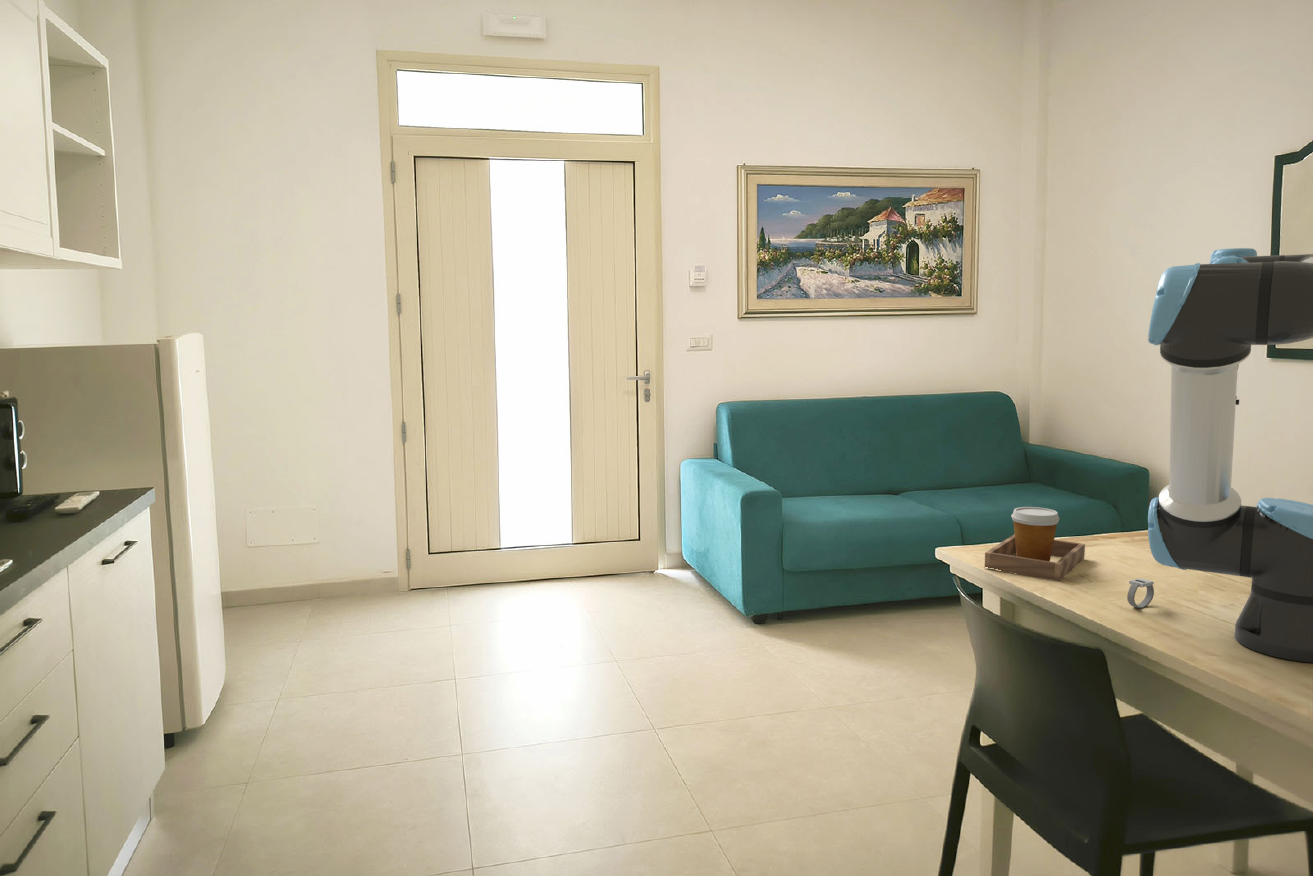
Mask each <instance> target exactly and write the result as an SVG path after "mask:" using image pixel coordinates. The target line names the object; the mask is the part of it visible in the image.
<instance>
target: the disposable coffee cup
mask: <svg viewBox="0 0 1313 876" xmlns="http://www.w3.org/2000/svg"><path fill="white" fill-rule="evenodd" d="M1011 518H1012V521H1013V531H1014V532H1013V533H1014V534H1015V544H1016V552H1015V553H1016V554H1015V556H1018V557H1024V558H1031V559H1037V560H1044V561H1050V562H1051V559H1052V556H1051V553H1052V548H1053V543H1054V540H1055V537H1056V532H1057V527H1058V526H1057V524H1059V521H1061V520H1060V519H1061V518H1060V517H1059V514H1058V511H1056V510H1055V509H1051V508H1046V507H1037V506H1036V507H1035V506H1022V507H1021V506H1020V507H1016V508H1014V509H1013V512H1012V514H1011Z"/></svg>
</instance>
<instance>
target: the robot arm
mask: <svg viewBox="0 0 1313 876" xmlns="http://www.w3.org/2000/svg"><path fill="white" fill-rule="evenodd" d="M1147 337H1148V338H1147V342H1148V343H1150V344H1151V345H1154V346H1159V354H1160V357H1161V359H1162V360H1164V361H1165V362H1166V363H1167V364H1169V365H1171V366H1170V368H1171V370H1170V373H1171V374H1170V375H1171V376H1170V381H1171V382H1170V417H1169V418H1170V419H1169V420H1170V426H1169V427H1170V428H1169V429H1170V432H1169V433H1170V434H1169V483H1168V484H1167V485H1166V486H1164V487H1163V488H1162V490H1160V492H1159V494H1158V497H1157V496H1156V497H1153V498H1152V499H1151V501H1150V502H1149V507H1148V514H1147V526H1148V529H1147V535H1148V542H1149V543H1148V544H1149V549H1150V552H1151V555H1152V557H1153V559H1154V560H1155V561H1156V562H1157V563H1158V564H1160V565H1162V566H1167V567H1169V568H1170V567H1171V568H1176V569H1179V570H1182V571H1187V570H1193V571H1200V572H1206V573H1212V574H1221V575H1222V574H1223V575H1228V576H1237V577H1242V578H1250V579H1251V585H1250V586H1251V588H1250V595H1249V596H1248V598H1247V600H1246V602H1245V603H1244V606H1243V608H1242V609H1241V612H1240V613H1239V616H1238V618H1237V620H1236V621H1235V622H1236V623H1235V625H1234V634H1233V635H1234V639H1235V641H1237V642H1238V644H1240V645H1243V647H1245V648H1248V649H1250V650H1252V651H1255V652H1258V653H1261V654H1264V655H1267V656H1271V657H1274V658H1275V657H1276V658H1279V659H1284V660H1288V661H1290V660H1291V661H1295V662H1302V663H1303V662H1304V663H1313V504H1310V503H1307V502H1301V501H1297V500H1293V499H1285V498H1275V497H1273V498H1272V497H1263V498H1260V499H1259V500H1258V502H1256V506H1249V505H1242V498H1241V495H1240V494H1239V492H1237V490H1235V489H1234V488H1232V476H1233V458H1234V441H1235V440H1234V439H1235V420H1236V406H1239V405H1240V399H1237V387H1238V386H1237V385H1238V384H1237V383H1238V369H1239V367H1240V366H1239V365H1240V364H1241V363H1242V362H1244V361H1245V360H1246V359H1247V358H1248V357H1249V356H1250V355H1251V351H1252V346H1268V345H1269V346H1271V345H1273V346H1274V345H1275V346H1276V345H1287V344H1293V343H1298V342H1303V341H1308V340H1310V339H1313V253H1306V254H1288V255H1285V254H1283V255H1282V254H1281V255H1280V254H1278V255H1258V251H1257V250H1256V249H1254V248H1249V247H1243V248H1242V247H1239V248H1236V247H1235V248H1220V249H1215V250H1213V251H1212V252H1211V254H1210V260H1209V263H1202V264H1201V263H1199V262H1198V263H1197V262H1196V263H1195V264H1187V265H1185V264H1184V265H1175V266H1170V267H1168V268H1167V269H1165V270H1164V271H1163V272H1162V273H1161V276H1160V278H1159V281H1158V284H1157V287H1156V292H1155V297H1154V301H1153V305H1152V311H1151V316H1150V321H1149V326H1148V336H1147Z"/></svg>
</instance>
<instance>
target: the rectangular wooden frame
mask: <svg viewBox="0 0 1313 876" xmlns="http://www.w3.org/2000/svg"><path fill="white" fill-rule="evenodd" d="M1085 552H1086V543H1081V542H1080V543H1079V542H1073V541H1066V540H1060V539H1054V543H1053V548H1052V553H1051V557H1057V558H1058V557H1059V558H1060V559H1059V560H1058V561H1051V560H1050V561H1044V560H1037V559H1031V558H1024V557H1018V556H1017V555H1013V554H1014V553H1016V544H1015V533H1013V535H1010V536H1009V537H1007V538H1006V539H1004V540H1003V541H1000V543H998V544H997V545H995V546H993V547H992V548H990V549H989V550H987V551H985V553H984V568H985V567H988V568H994V569H998V570H1001V571H1000V572H1002V571H1003V572H1002V573H1008V572H1012V573H1011V574H1014V573H1016V574H1015V575H1021V576H1027V577H1031V578H1032V577H1033V578H1038V579H1045V580H1051V581H1057V582H1060V581H1061V580H1062V579H1064V578H1065V577H1066V576H1067V575H1068V574H1069V573H1071V572H1072V571H1073V570H1074V569H1075V568H1076V567H1078V566H1079V564H1081V563H1082V562H1083V561H1084V560H1085V556H1086V555H1085V554H1086V553H1085Z"/></svg>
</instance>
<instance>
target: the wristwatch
mask: <svg viewBox="0 0 1313 876" xmlns="http://www.w3.org/2000/svg"><path fill="white" fill-rule="evenodd" d="M1128 584H1129V585H1130V587H1129V588H1128V592H1127V595H1126V596H1127V597H1126V598H1127V602H1128V604H1129V605H1130V606H1131V607H1134V608H1137V609H1144V608H1146V607H1147V606H1148V605H1150V603H1151V602H1152V601H1153V598H1154V594H1155V591H1154V590H1155V589H1154V584H1155V583H1154V581H1153V580H1151V579H1150V580H1149V579H1145V578H1141V577H1140V578H1136V579H1132V580H1129V581H1128ZM1139 587H1140V588H1145V587H1146V594H1145V596H1144V598H1143V600H1142V601H1141V602H1140V603H1138V604H1136V601H1135V597H1136V592H1137V590H1138V588H1139Z"/></svg>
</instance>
